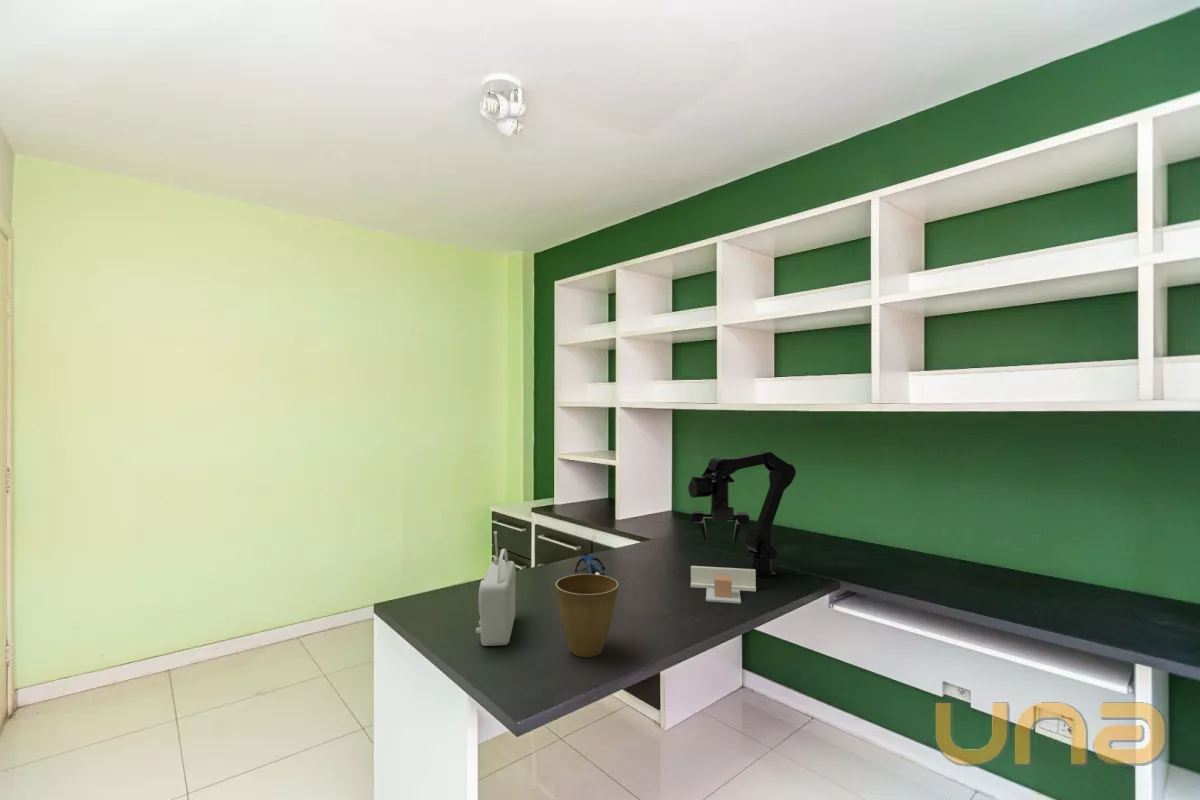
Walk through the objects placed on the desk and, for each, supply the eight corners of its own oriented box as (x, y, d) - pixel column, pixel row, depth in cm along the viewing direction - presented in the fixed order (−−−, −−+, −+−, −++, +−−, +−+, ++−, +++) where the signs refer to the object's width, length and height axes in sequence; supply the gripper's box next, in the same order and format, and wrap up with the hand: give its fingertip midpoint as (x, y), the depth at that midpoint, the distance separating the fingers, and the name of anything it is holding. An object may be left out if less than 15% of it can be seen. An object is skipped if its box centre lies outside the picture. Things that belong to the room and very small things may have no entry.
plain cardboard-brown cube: (714, 590, 168) (714, 574, 168) (731, 591, 166) (731, 575, 166) (714, 596, 162) (714, 579, 163) (731, 597, 161) (731, 581, 161)
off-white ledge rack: (691, 583, 177) (691, 564, 177) (755, 587, 172) (754, 568, 172) (690, 587, 173) (690, 568, 173) (756, 591, 168) (755, 572, 169)
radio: (486, 616, 150) (485, 525, 151) (516, 614, 151) (515, 524, 151) (473, 651, 129) (472, 546, 129) (508, 650, 129) (507, 545, 129)
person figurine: (613, 585, 181) (599, 562, 198) (613, 572, 181) (600, 550, 198) (581, 587, 178) (570, 564, 196) (581, 574, 178) (570, 552, 195)
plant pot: (578, 672, 118) (578, 598, 119) (544, 647, 131) (543, 580, 131) (631, 653, 127) (631, 584, 127) (594, 632, 139) (594, 569, 139)
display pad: (706, 589, 170) (706, 587, 170) (739, 591, 168) (739, 590, 168) (705, 601, 160) (705, 599, 160) (740, 603, 158) (740, 601, 158)
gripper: (690, 499, 175) (690, 548, 175) (750, 501, 171) (750, 551, 171) (691, 493, 186) (692, 539, 185) (748, 495, 182) (748, 542, 181)
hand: (720, 543), depth 180 cm, fingers open, 9 cm apart
